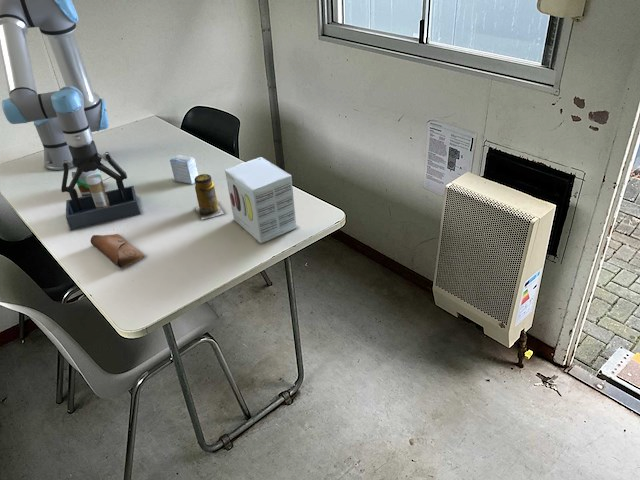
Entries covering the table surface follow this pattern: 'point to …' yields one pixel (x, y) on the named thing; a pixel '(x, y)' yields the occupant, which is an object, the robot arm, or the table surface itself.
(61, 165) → the robot arm
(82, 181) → the food container
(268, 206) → the supplement box
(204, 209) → the condiment
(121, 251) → the sunglasses case
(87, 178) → the sprinkles bottle
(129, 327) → the table surface
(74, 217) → the dark grey open tray
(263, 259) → the table surface
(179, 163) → the medicine box
